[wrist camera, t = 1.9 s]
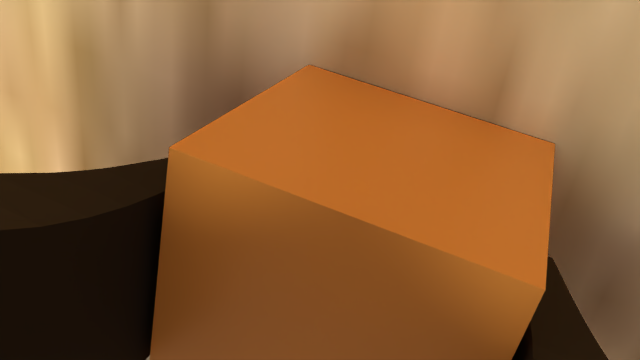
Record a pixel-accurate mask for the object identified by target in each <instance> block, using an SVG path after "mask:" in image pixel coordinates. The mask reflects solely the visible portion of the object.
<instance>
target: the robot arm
mask: <svg viewBox="0 0 640 360" xmlns="http://www.w3.org/2000/svg"><path fill="white" fill-rule="evenodd" d="M167 166H168V158H165V159H160V160H154V161H148V162H142V163H136V164H130V165H124V166H118V167H111V168H103V169H94V170H84V171H71V172H57V173H0V360H146V359H147V358H148V357H149V355H150V351H151V340H152V329H153V318H154V307H155V297H156V286H157V275H158V264H159V253H160V242H161V231H162V221H163V210H164V199H165V188H166V177H167ZM512 360H608V358H607V357H606V355H605V354H604V352H603V351H602V349H601V348H600V346H599V345H598V343H597V341H596V340H595V338H594V336H593V335H592V333H591V331H590V330H589V328H588V326H587V324H586V323H585V321H584V319H583V317H582V315H581V314H580V312H579V310H578V308H577V306H576V304H575V302H574V301H573V299H572V297H571V295H570V293H569V291H568V289H567V287H566V285H565V283H564V281H563V279H562V277H561V275H560V273H559V271H558V269H557V266H556V264H555V263H554V261H553V259H552V258H551V257H548V258H547V274H546V289H545V292H544V294H543V296H542V298H541V300H540V302H539V304H538V306H537V308H536V310H535V312H534V314H533V317H532V319H531V321H530V323H529V325H528V327H527V329H526V331H525V333H524V335H523V337H522V339H521V341H520V343H519V345H518V347H517V350H516V352H515V354H514V356H513V358H512Z"/></svg>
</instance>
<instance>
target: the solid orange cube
mask: <svg viewBox="0 0 640 360" xmlns="http://www.w3.org/2000/svg"><path fill="white" fill-rule="evenodd" d="M554 152H555V144H554V143H550V142H547V141H544V140H541V139H538V138H535V137H532V136H529V135H526V134H523V133H519V132H516V131H513V130H510V129H507V128H504V127H501V126H498V125H495V124H491V123H488V122H485V121H482V120H479V119H476V118H473V117H470V116H467V115H464V114H460V113H457V112H454V111H451V110H448V109H445V108H442V107H439V106H436V105H433V104H429V103H426V102H423V101H420V100H417V99H414V98H411V97H408V96H405V95H401V94H398V93H395V92H392V91H389V90H386V89H383V88H380V87H377V86H374V85H370V84H367V83H364V82H361V81H358V80H355V79H352V78H349V77H346V76H343V75H339V74H336V73H333V72H330V71H327V70H324V69H321V68H318V67H315V66H311V65H308V66H306V67H304V68H302V69H301V70H299V71H297V72H296V73H294V74H292V75H291V76H289V77H287V78H286V79H284V80H282V81H280V82H279V83H277V84H275V85H274V86H272V87H270V88H269V89H267V90H265V91H264V92H262V93H260V94H258V95H257V96H255V97H253V98H252V99H250V100H248V101H247V102H245V103H243V104H242V105H240V106H238V107H237V108H235V109H233V110H231V111H230V112H228V113H226V114H225V115H223V116H221V117H220V118H218V119H216V120H215V121H213V122H211V123H209V124H208V125H206V126H204V127H203V128H201V129H199V130H198V131H196V132H194V133H193V134H191V135H189V136H187V137H186V138H184V139H182V140H181V141H179V142H177V143H176V144H174V145H172V146H171V147H169V156H168V166H167V177H166V188H165V199H164V210H163V221H162V231H161V242H160V253H159V264H158V275H157V286H156V297H155V307H154V318H153V329H152V340H151V351H150V360H512V358H513V356H514V354H515V352H516V350H517V347H518V345H519V343H520V341H521V339H522V337H523V335H524V333H525V331H526V329H527V327H528V325H529V323H530V321H531V319H532V317H533V314H534V312H535V310H536V308H537V306H538V304H539V302H540V300H541V298H542V296H543V294H544V292H545V289H546V274H547V258H548V243H549V228H550V213H551V197H552V182H553V167H554Z"/></svg>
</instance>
